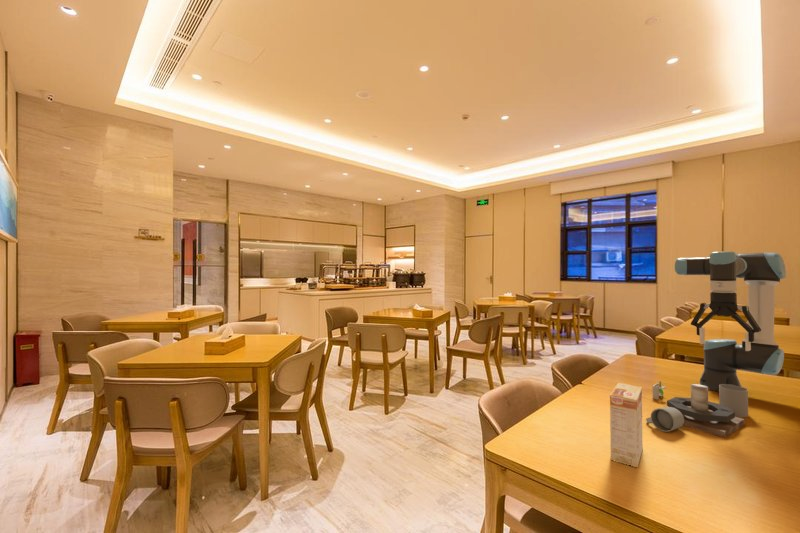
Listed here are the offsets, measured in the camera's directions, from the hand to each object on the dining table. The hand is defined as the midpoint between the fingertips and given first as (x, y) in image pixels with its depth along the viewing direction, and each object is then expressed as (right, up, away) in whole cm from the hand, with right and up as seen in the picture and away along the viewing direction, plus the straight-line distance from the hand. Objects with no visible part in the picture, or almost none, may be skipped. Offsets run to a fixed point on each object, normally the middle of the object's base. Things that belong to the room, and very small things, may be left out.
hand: (724, 347), depth 138 cm
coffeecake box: (-55, -27, -28) cm, 67 cm away
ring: (-12, -23, -3) cm, 27 cm away
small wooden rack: (-10, -28, +22) cm, 37 cm away
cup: (+8, -27, +4) cm, 29 cm away
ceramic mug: (-30, -27, -9) cm, 41 cm away
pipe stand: (-12, -27, -3) cm, 30 cm away
